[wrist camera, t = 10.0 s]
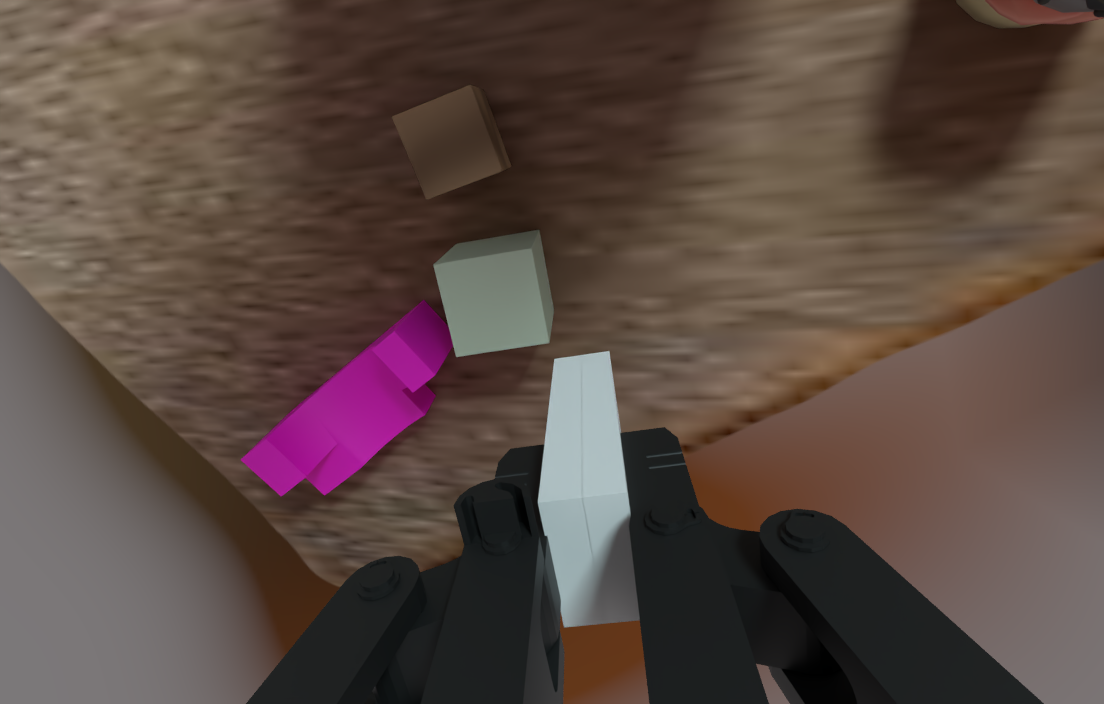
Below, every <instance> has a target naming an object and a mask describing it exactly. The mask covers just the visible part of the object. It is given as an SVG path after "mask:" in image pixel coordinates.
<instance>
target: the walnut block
mask: <svg viewBox="0 0 1104 704" xmlns="http://www.w3.org/2000/svg"><path fill="white" fill-rule="evenodd" d="M392 119H393V121H394V124H395V126H396V129H397V131H398V133H399V136H400V138H401V140H402V143H403V145H404V148H405V150H406V152H407V155H408V157H409V160H410V162H411V164H412V167H413V169H414V171H415V174H416V176H417V179H418V181H419V183H420V186H421V188H422V191H423V193H424V195H425V198H426V200H427V199H430V198H433V197H435V196H438V195H441V194H443V193H446V192H449V191H451V190H454V189H456V188H459V187H462V186H464V185H467V184H470V183H472V182H475V181H478V180H480V179H483V178H486V177H488V176H491V175H494V174H496V173H499V172H501V171H504V170H506V169H508V168H510V167H511V163H510V161H509V158H508V155H507V152H506V150H505V147H504V144H503V141H502V139H501V136H500V133H499V130H498V128H497V125H496V122H495V119H494V117H493V114H492V111H491V108H490V106H489V103H488V100H487V97H486V95H485V92H484V90H482V89H480V88H478V87H475V86H473V85H468V86H465V87H463V88H461V89H458V90H456V91H453V92H451V93H448V94H446V95H443V96H441V97H438V98H436V99H434V100H431V101H429V102H426V103H424V104H421V105H419V106H416V107H414V108H411V109H409V110H407V111H404V112H402V113H399V114H397V115H394V116H392Z"/></svg>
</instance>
